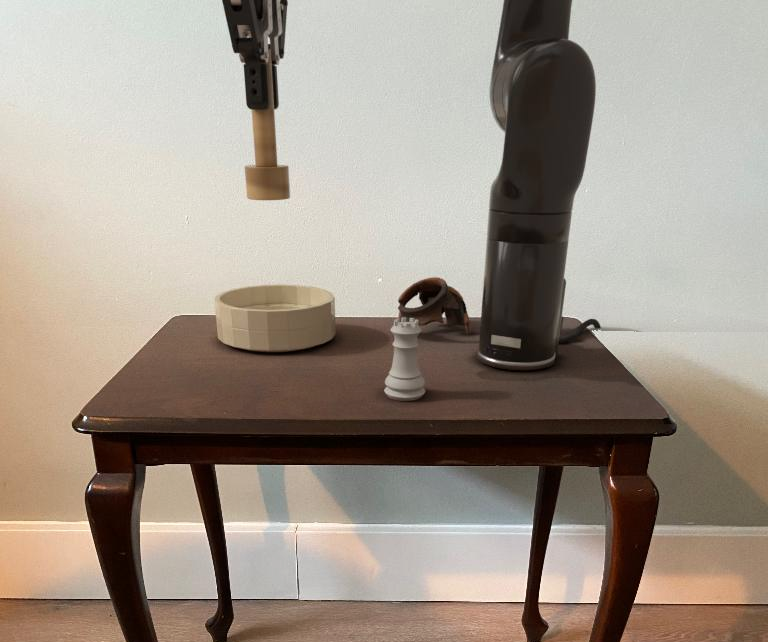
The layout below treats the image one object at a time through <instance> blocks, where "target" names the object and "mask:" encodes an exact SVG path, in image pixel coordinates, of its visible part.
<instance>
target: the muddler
mask: <svg viewBox="0 0 768 642" xmlns="http://www.w3.org/2000/svg"><path fill="white" fill-rule="evenodd" d="M268 53H269V58H268V62H267V63H264V64H268V67H269V83H270V100H271V106H270V108H269V109H267V110H256V109H251V120H252V134H253V148H254V164H248V165H247V164H246V165H245V166H244V176H245V178H244V179H245V190H246V198H247V199H248V200H253V201H283V200H288V199H290V198H291V188H290V187H291V185H290V184H291V183H290V168H289V166H288V165H285V164H278V151H277V150H278V149H277V135H276V134H277V132H276V131H277V130H276V115H275V114H276V113H275V110H274V97H273V80H272V63H271V50H270V49H268Z"/></svg>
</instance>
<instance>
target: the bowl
mask: <svg viewBox="0 0 768 642" xmlns="http://www.w3.org/2000/svg"><path fill="white" fill-rule="evenodd" d="M213 302H214V312H215V322H216V329H217V331H216V332H217V338H218V340H219V341H220V342H222V343H223V344H225V345H228V346H230V347H233V348H237V349H242V350H244V351H245V350H246V351H250V352H260V353H261V352H262V353H285V352H295V351H300V350H301V351H302V350H306V349H310V348H313V347H316V346H320V345H323V344H325V343H327V342H329V341H331V340H333V338H334V337H335V336H336V333H337V331H336V298H335V295H334V293H333V292H331V291H329V290H327V289H324V288H321V287H315V286H311V285H310V286H309V285H301V284H283V283H282V284H281V283H280V284H258V285H249V286H243V287H237V288H232V289H228V290H226V291H222V292H220V293H218V294H217V295H215V296H214V301H213Z"/></svg>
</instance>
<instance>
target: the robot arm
mask: <svg viewBox="0 0 768 642" xmlns="http://www.w3.org/2000/svg"><path fill="white" fill-rule="evenodd" d="M221 3H222V8H223V11H224V16H225V19H226V20H225V21H226V25H227V29H228V33H229V39H230V42H231V48H232V50H233V51H232V52H233V53H234V54H238V57H239V61H240V63H241V64H242V65H243V75H244V90H245V103H246V107H247V109H249V110H252V109H256V110H267V109H269V108H270V106H271V100H270V83H269V67H268V64H264V63H267V62H268V58H269V53H268V49H270V50H271V63H272V80H273V97H274V111H275V110H278V108H279V107H280V100H279V85H278V84H279V83H278V66H279V65H280V61H281V60H282V59H284V57H285V45H286V44H285V42H286V29H287V16H288V5H289V1H288V0H221ZM572 6H573V0H503V4H502V10H501V17H500V24H499V29H498V35H497V41H496V47H495V52H494V57H493V63H492V70H491V75H490V82H489V92H488V93H489V96H488V97H489V106H490V111H491V113H492V117H493V119H494V121H495V123H496V124H497V126H498V127H499V129H500V130H501V132H503V133H504V139H503V140H504V141H503V149H502V157H501V158H502V159H501V164H500V168H499V171H498V172H497V175H496V177H495V178H494V180H493V181H492V183H491V185H490V189H489V201H488V214H487V215H488V216H487V228H486V229H487V230H486V241H485V242H486V244H485V257H484V273H483V283H482V300H481V312H480V313H481V315H480V325H479V326H480V327H479V328H480V329H479V342H478V348H477V355H476V356H477V357H476V358H477V359H478V361H479V362H480V363H482V364H484V365H487V366H489V367H493V368H496V369H502V370H510V371H537V370H543V369H545V368H549V367H551V366H552V365H554V364H555V361H556V358H557V357H558V351H559V345H562V344H565V343H568V342H570V341H572V340H575V339H576V338H577V337H579V334H581V332H582V331H584V330H585V329H587V328H588V327H591V326H593V328H595V329H601V328H602V326H601V323H600V322H599V320H597V319H596V318H589V319H586V320H585V321H583V322H582V323H581V324H580V325H578V326H576V327H575V328H574V329H573V330H572V332H571V333H568V334H566V335H564V336H560V335H562V331H563V323H564V316H563V310H564V304H565V303H564V302H565V295H566V286H567V280H566V278H565V272H566V265H567V257H568V249H569V240H570V239H569V238H570V231H571V223H572V216H573V208H574V201H575V196H576V194H577V192H578V189H579V187H580V185H581V183H582V180H583V177H584V174H585V168H586V164H587V158H588V151H589V144H590V139H591V132H592V126H593V121H594V113H595V105H596V94H597V84H596V74H595V73H596V72H595V69H594V64H593V62H592V60H591V58H590V56H589V54H588V53H587V51H586V50H585V49H584V48H583V47H582V46H581V45H579V44H578V43H577V42H576V41H572V40H571V39H569V38H570V37H569V36H570V25H571V17H572V16H571V14H572Z"/></svg>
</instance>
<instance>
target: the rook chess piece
mask: <svg viewBox="0 0 768 642" xmlns="http://www.w3.org/2000/svg"><path fill="white" fill-rule="evenodd" d="M418 323H419V321H418V320H415V318H410V322H406V318H401V322H399V319H398V317H396V318H395V319H393V325H392V326H391V328H390V332H391V333H392V335H393V337H394V339H393V340H394V341H393V342H392V343H391V345H392V346H393V357H392V365H391V368H390V370H389V371H388V375H387V376H386V378H385V380H384V384H385V388H384V390H383V391H384V393H385V395H386V396H387V397H388V398H389V399H391V400H394V401H397V402H398V401H399V402H411V401H416V400H419V399H421V398H422V397H423V396H424V395H425V393H426V389H425V388H424V386H425V384H426V381H425V380H426V379H425V378H424V377H423V376H422V372H421V370H420V367H419V361H418V347H419V346H420V344H419V342H418V337H419V335H420V334H421V333H422V332H423V329H422V328H421V327H420V326H419V325H418Z"/></svg>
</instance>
